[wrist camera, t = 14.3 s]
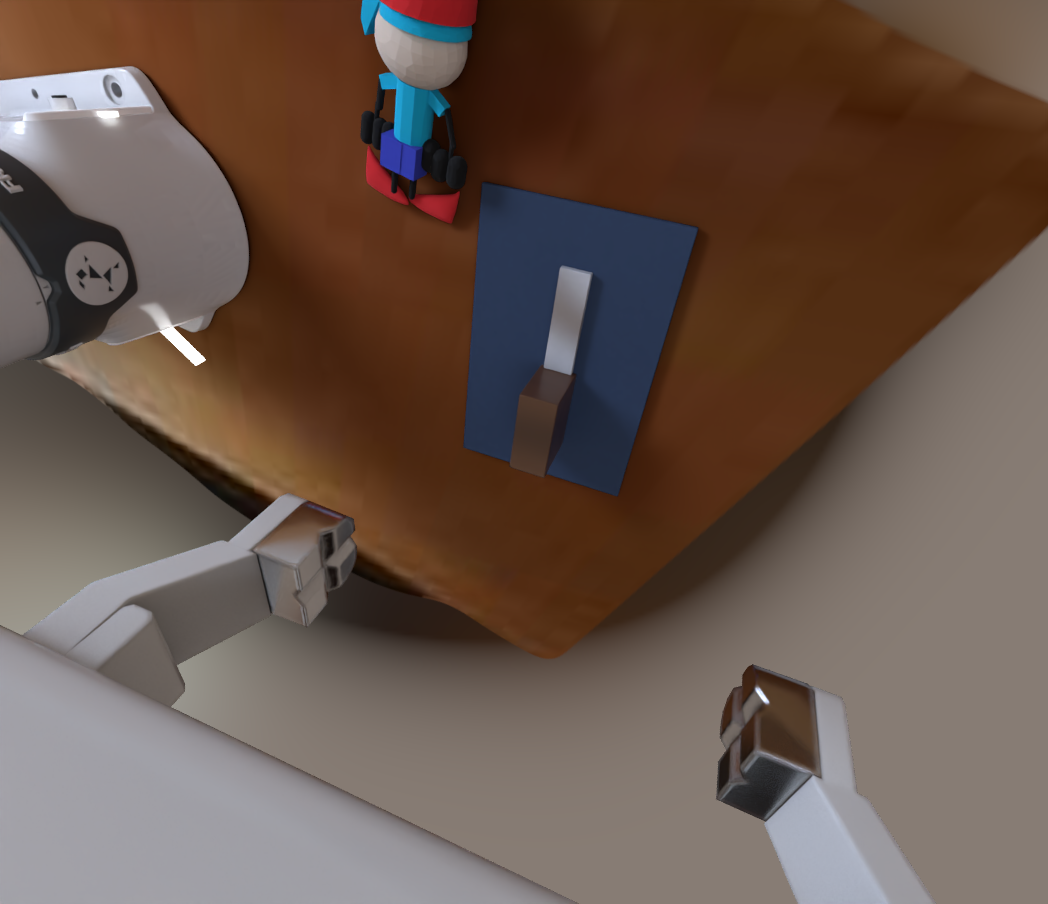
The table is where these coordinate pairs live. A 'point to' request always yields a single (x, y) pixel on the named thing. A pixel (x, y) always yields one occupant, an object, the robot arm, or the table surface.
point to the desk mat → (607, 331)
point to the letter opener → (552, 380)
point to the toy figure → (416, 96)
